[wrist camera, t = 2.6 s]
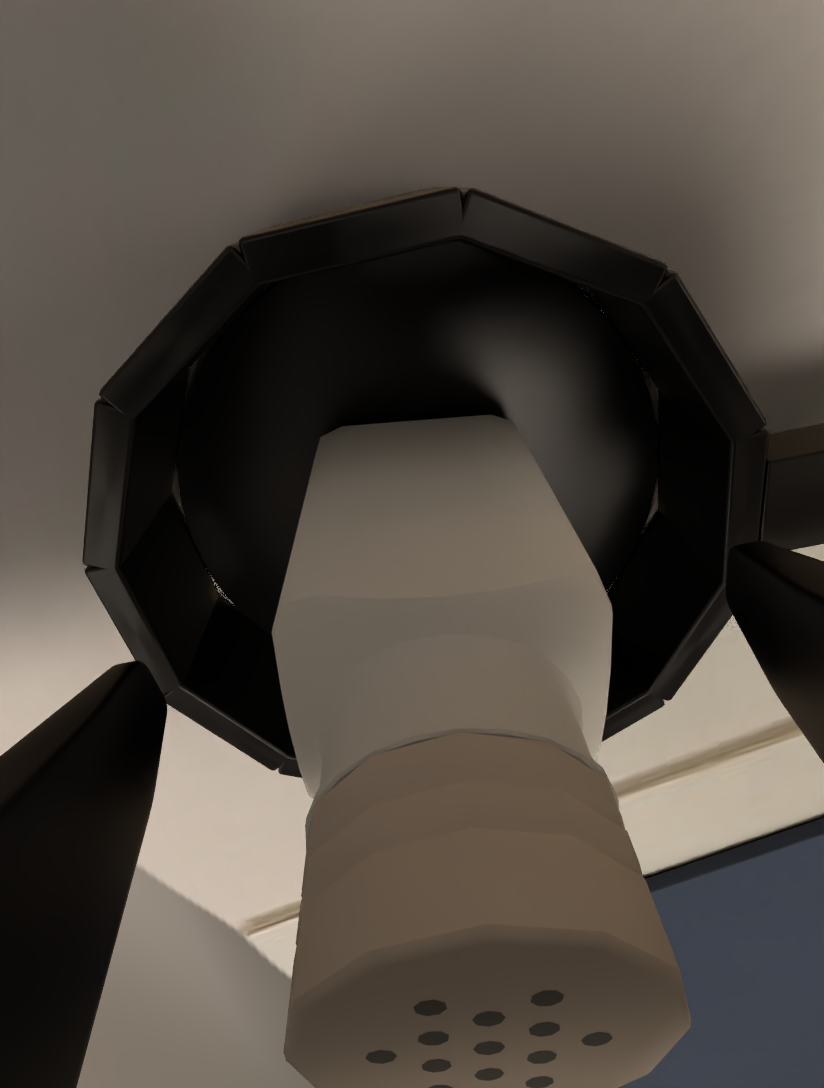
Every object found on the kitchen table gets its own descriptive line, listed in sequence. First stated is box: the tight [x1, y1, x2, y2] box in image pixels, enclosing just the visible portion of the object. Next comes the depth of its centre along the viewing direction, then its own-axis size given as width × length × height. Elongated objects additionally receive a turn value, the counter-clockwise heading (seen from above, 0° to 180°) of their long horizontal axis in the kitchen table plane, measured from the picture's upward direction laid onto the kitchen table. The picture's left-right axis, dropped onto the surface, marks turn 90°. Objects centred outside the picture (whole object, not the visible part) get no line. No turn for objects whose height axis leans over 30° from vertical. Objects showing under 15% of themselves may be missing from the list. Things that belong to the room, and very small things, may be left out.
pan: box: [82, 187, 824, 778], centre depth 11 cm, size 20×11×3 cm, turn 102°
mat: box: [618, 818, 824, 1088], centre depth 27 cm, size 28×18×1 cm, turn 30°
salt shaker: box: [272, 415, 691, 1088], centre depth 9 cm, size 4×4×10 cm
